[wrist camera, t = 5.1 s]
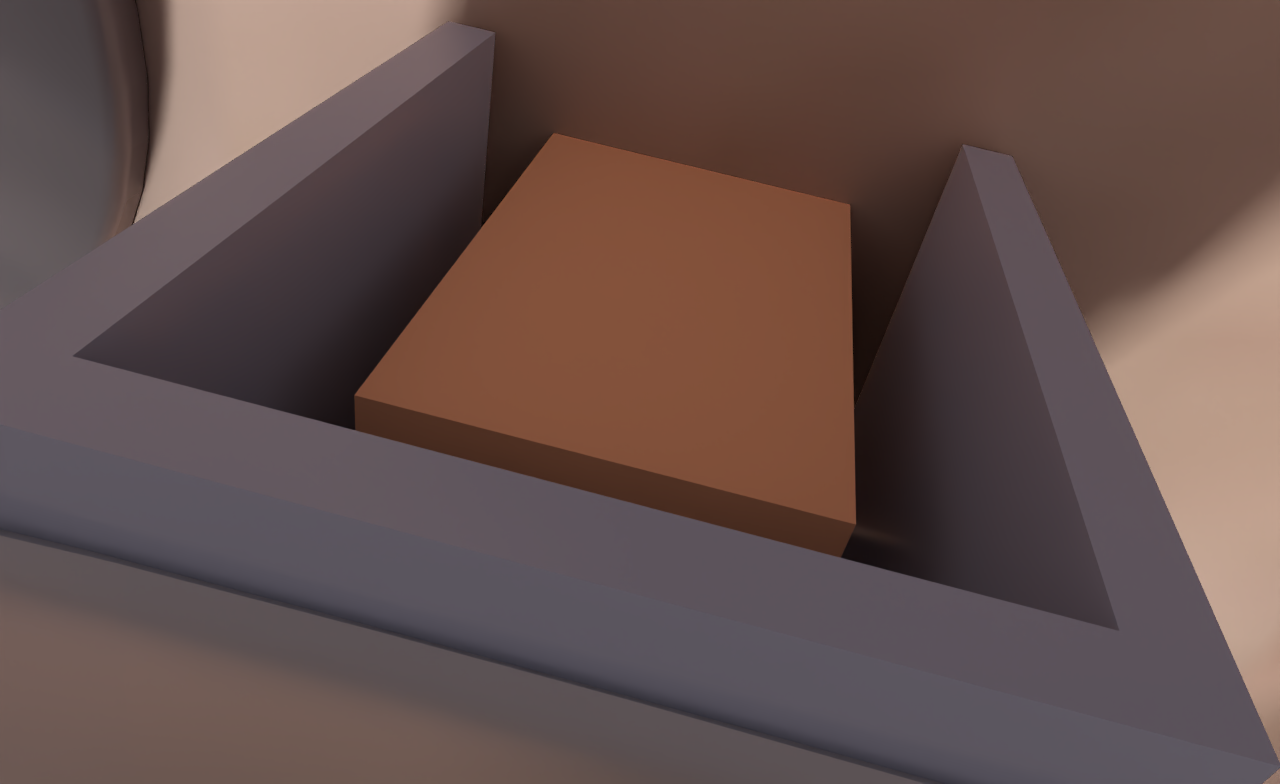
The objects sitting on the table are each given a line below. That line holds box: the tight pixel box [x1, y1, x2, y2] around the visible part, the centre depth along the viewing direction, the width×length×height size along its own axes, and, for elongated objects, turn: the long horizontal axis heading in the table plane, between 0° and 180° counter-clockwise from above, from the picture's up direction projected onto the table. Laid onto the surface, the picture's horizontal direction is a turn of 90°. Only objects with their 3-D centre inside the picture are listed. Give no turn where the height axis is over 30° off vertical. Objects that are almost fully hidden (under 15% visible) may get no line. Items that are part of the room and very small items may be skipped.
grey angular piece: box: [0, 21, 1280, 784], centre depth 10 cm, size 7×7×8 cm
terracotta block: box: [354, 133, 856, 558], centre depth 10 cm, size 4×4×6 cm
